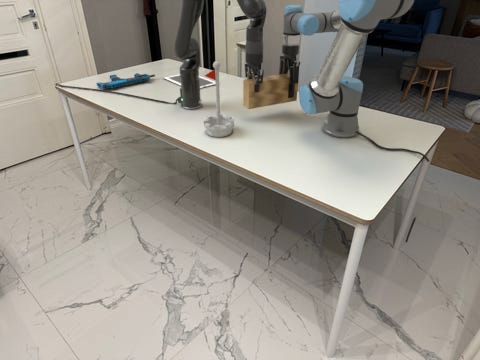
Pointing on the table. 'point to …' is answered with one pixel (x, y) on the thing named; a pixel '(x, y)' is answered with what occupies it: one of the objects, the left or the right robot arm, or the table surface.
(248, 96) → the box
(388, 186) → the table surface
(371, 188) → the table surface
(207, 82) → the tablet
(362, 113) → the table surface
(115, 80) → the submachine gun
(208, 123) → the flag stand
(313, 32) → the right robot arm
